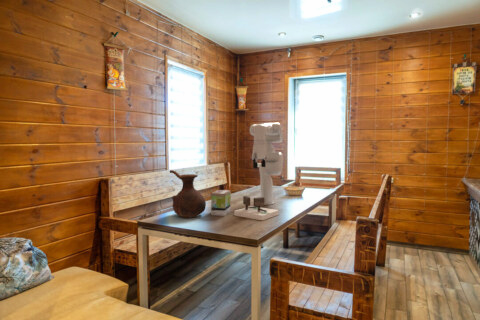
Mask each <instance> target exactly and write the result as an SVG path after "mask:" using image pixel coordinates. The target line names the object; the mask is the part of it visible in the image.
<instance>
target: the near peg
mask: <svg viewBox="0 0 480 320" xmlns="http://www.w3.org/2000/svg"><path fill="white" fill-rule="evenodd" d="M253 206H255V207H258V211H260V210H261V211H264V212H267V211H266V210H263V209H260V207H265V205H264V197H260V196H259V197H253Z"/></svg>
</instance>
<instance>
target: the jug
mask: <svg viewBox="0 0 480 320" xmlns="http://www.w3.org/2000/svg"><path fill="white" fill-rule="evenodd" d="M170 173H171V174H174V175H175V176H176V177H177V178H178V179H179V180H180V181H181V182H182V187H181V190H180V191H178V193H177V194H176V195H173V196H171V198H172V199H171V200H172V210H173V213H175V215H177V216H179V217H181V218H187V219H188V218H189V219H190V218H196V217H198V216H200V215H201V214H202V213H204V211H205V209H206V205H207V202H206V200H205V197H204V196H203V195H202V193H200V192H199V191H198V190H197V189H196V188H195V187H194V182H195V179H196V178H197V177H199V176H198V174H179V172H177V171H175V170H173V169H171V170H169V174H170Z"/></svg>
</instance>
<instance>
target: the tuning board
mask: <svg viewBox="0 0 480 320" xmlns="http://www.w3.org/2000/svg"><path fill="white" fill-rule="evenodd" d="M249 207H255V206H254V205H250V206H249ZM260 209H263V210H266V211H267V212H264V211H261V210H260V211H258V208H248V209H247V210H246V209H245V207H243V208H240V209H236V210H234V214H233V215H234V216H236V217H240V218H241V217H242V218H246V219H252V220H259V221H265V220H267V219H271V218H273V217H276V216H279V210H278V209H274V208H266V207H262V206H260Z"/></svg>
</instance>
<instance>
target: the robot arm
mask: <svg viewBox="0 0 480 320" xmlns="http://www.w3.org/2000/svg"><path fill="white" fill-rule="evenodd" d="M249 134H250V136H253V146H252V155H251V161H252V166H253V169H259V170H258V171H259V177H260V180H259V181H260V187H259V188H260V196H259V198H260V197H264V206H265V205H267V206H268V205H269V206H270V205H275V201H274V200H276V196H274V195H273V192H274V190H273V189H274V187H273V186H274V185H273V178H272V177H271V176H281V174H282V172H283V167H284V166H283V165H284V155H283V153H282V152H280V151H279V152H277V151H276V148H275V147H274V145H273V144H274V143H275V144H276V143H277V144H279V143H282V142H284V133H283V127H282V125H281V124H280V123H279V122H265V123H259V124H258V123H257V124H251V125H250V127H249ZM272 143H273V144H272ZM258 160H261V163H260V164H259V166H258Z"/></svg>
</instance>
